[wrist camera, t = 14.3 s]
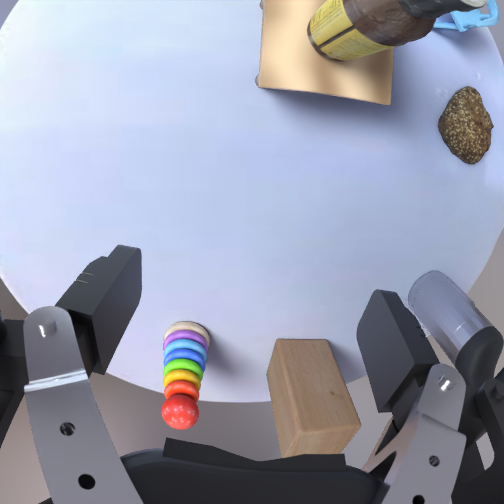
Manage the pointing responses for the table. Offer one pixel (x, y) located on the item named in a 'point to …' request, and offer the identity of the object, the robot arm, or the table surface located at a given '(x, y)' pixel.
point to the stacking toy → (183, 372)
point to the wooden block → (310, 399)
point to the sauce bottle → (376, 24)
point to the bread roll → (466, 125)
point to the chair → (471, 18)
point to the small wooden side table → (315, 58)
